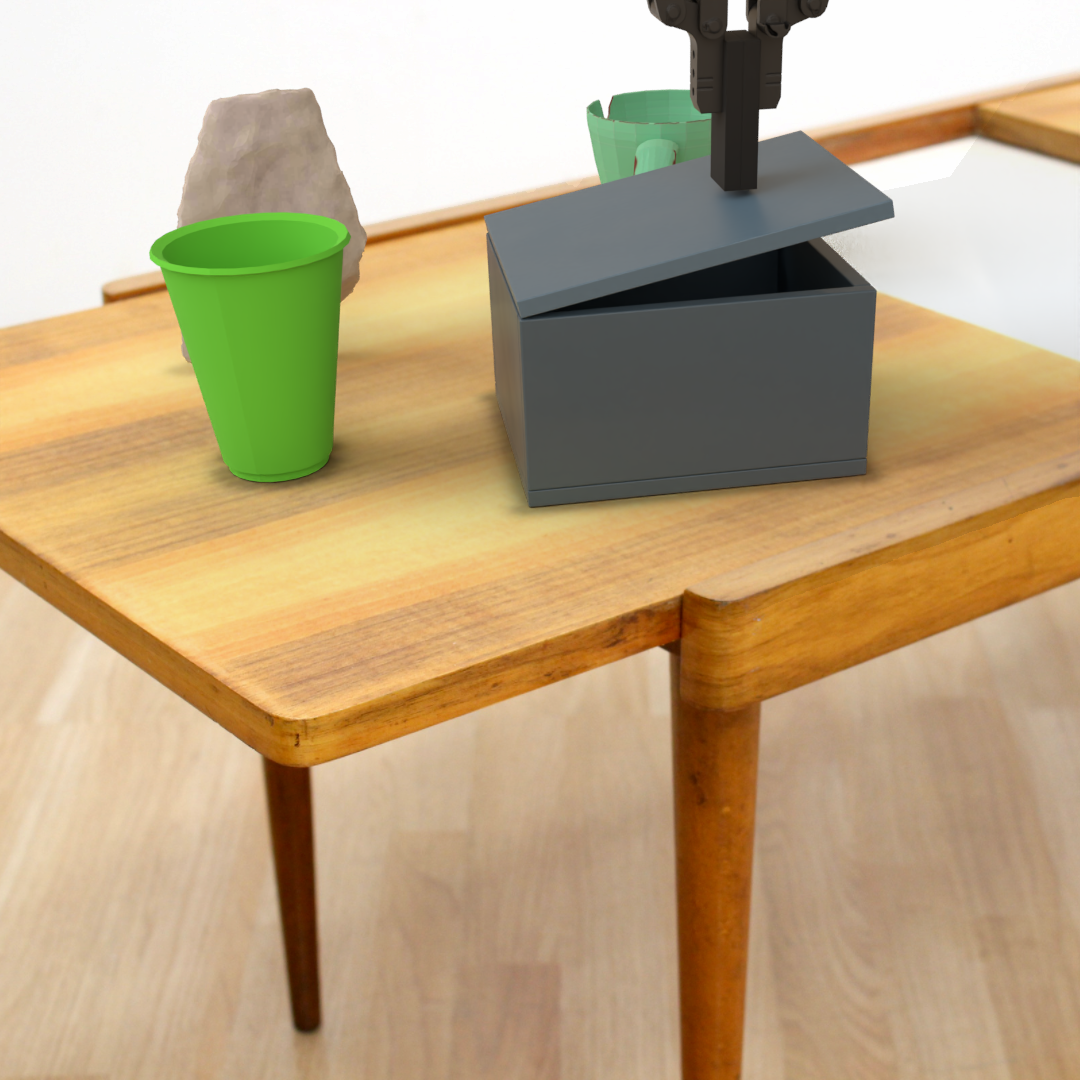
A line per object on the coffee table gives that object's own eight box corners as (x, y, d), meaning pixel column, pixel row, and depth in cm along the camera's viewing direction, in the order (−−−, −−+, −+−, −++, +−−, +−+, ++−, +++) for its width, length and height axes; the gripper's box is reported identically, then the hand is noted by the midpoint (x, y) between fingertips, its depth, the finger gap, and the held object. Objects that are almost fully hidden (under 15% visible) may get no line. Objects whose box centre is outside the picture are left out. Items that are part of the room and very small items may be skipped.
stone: (181, 373, 86) (137, 99, 79) (195, 352, 89) (154, 86, 82) (373, 368, 86) (346, 91, 79) (381, 347, 89) (356, 79, 82)
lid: (803, 145, 78) (801, 129, 77) (895, 217, 66) (893, 199, 65) (487, 230, 77) (483, 215, 77) (521, 319, 65) (516, 301, 65)
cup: (396, 428, 78) (376, 213, 73) (335, 507, 70) (308, 272, 65) (230, 419, 80) (199, 209, 75) (152, 495, 72) (112, 266, 67)
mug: (597, 239, 106) (593, 90, 101) (742, 239, 105) (745, 87, 100) (574, 310, 93) (569, 143, 88) (740, 311, 92) (743, 141, 87)
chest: (784, 369, 83) (790, 207, 79) (866, 474, 71) (877, 289, 67) (495, 396, 81) (485, 231, 77) (529, 507, 69) (519, 320, 65)
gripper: (877, -418, 64) (846, 154, 75) (565, -408, 63) (579, 173, 74) (943, -437, 57) (898, 193, 68) (596, -426, 56) (606, 215, 67)
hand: (733, 182), depth 71 cm, fingers closed
